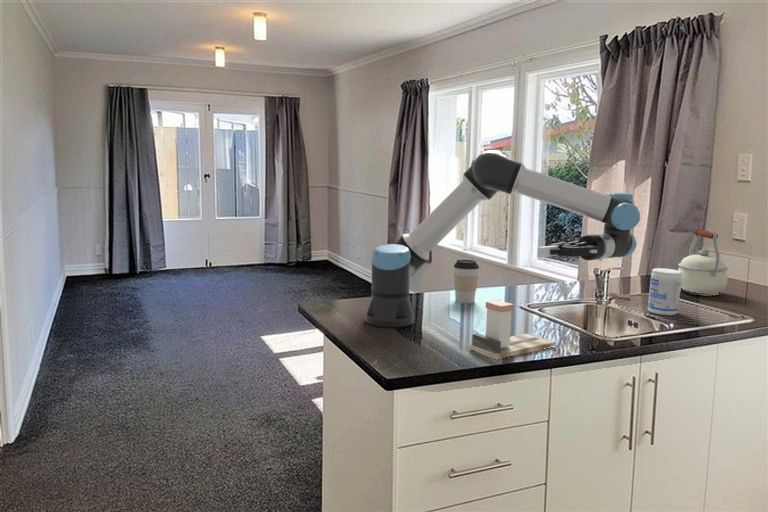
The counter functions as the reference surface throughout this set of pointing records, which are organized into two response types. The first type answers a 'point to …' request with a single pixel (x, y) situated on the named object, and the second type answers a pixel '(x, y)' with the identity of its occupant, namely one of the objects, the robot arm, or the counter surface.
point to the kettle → (703, 268)
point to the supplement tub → (664, 291)
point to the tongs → (617, 296)
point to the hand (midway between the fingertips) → (539, 252)
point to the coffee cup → (465, 280)
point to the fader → (499, 321)
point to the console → (517, 346)
